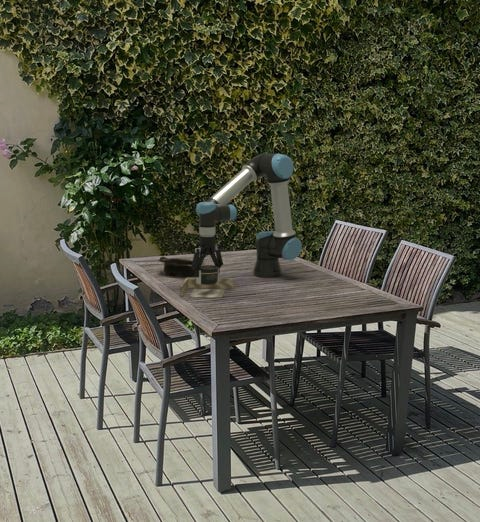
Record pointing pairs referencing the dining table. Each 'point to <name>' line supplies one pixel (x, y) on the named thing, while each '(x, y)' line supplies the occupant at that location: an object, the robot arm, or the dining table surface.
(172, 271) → the stone bowl
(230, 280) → the arena
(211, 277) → the jar
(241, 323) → the dining table surface
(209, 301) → the dining table surface
